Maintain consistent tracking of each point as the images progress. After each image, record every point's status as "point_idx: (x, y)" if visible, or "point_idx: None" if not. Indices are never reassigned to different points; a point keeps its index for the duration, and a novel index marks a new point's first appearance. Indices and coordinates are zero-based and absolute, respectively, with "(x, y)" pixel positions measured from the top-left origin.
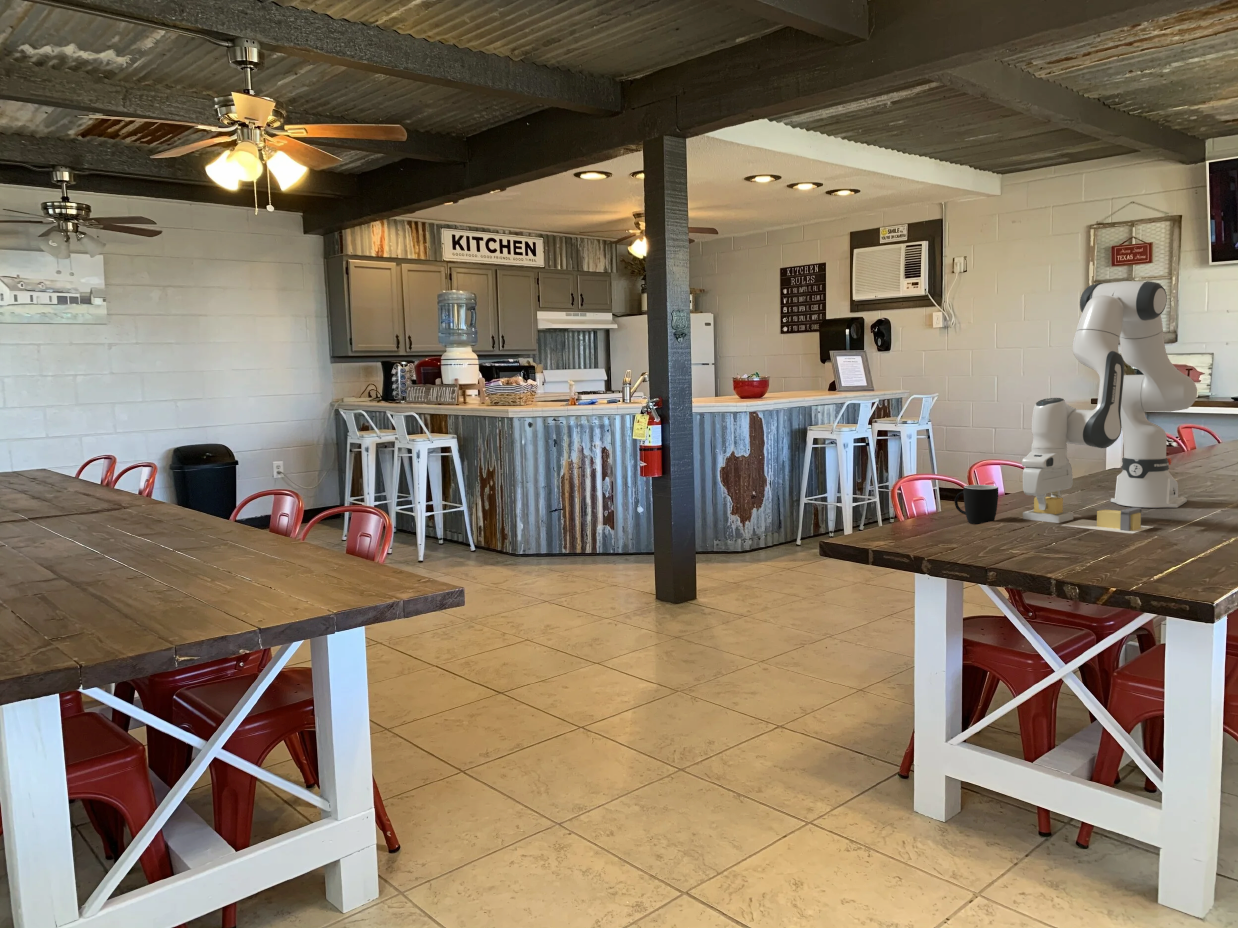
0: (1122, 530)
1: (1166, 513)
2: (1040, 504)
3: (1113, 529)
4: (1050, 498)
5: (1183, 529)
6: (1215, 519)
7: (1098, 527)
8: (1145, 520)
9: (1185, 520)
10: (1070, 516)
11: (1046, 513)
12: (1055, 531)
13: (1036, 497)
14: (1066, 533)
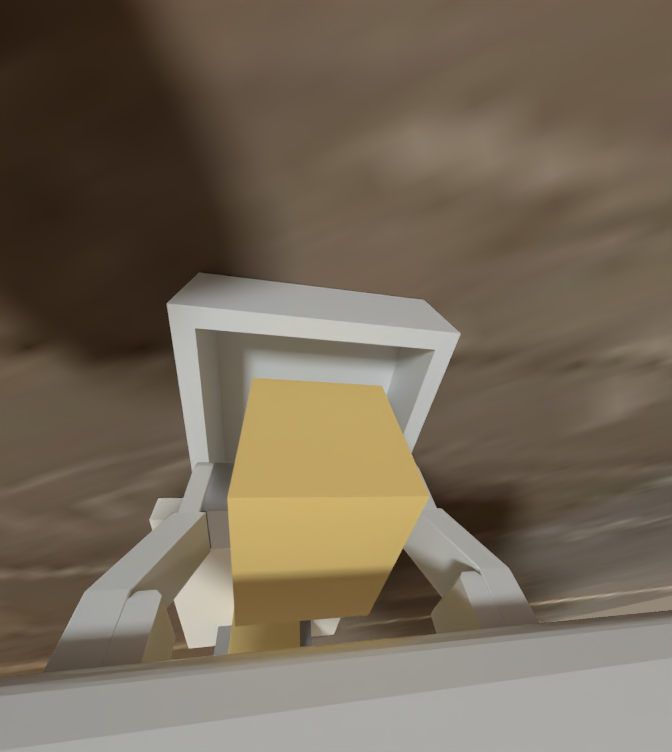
0: (216, 629)
1: (660, 552)
2: (183, 510)
3: (214, 618)
4: (283, 591)
5: (401, 626)
6: (564, 611)
7: (216, 593)
8: (520, 563)
9: (539, 596)
10: None
11: (405, 390)
12: (92, 501)
13: (86, 590)
14: (91, 537)
